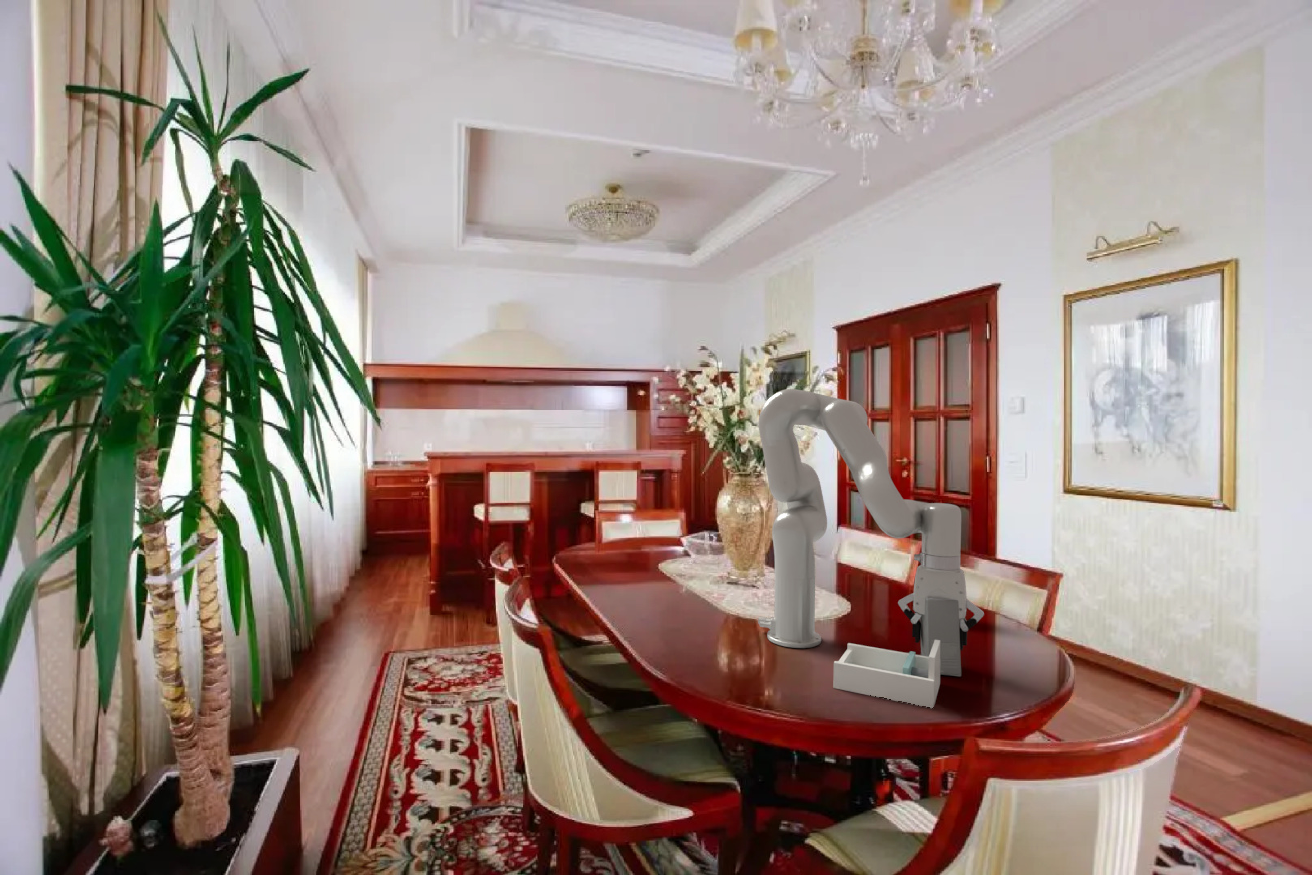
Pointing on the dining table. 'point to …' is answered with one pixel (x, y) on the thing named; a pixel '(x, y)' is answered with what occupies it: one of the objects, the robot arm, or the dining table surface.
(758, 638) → the dining table surface
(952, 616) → the skincare box
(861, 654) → the open box with divider
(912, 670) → the pusher
